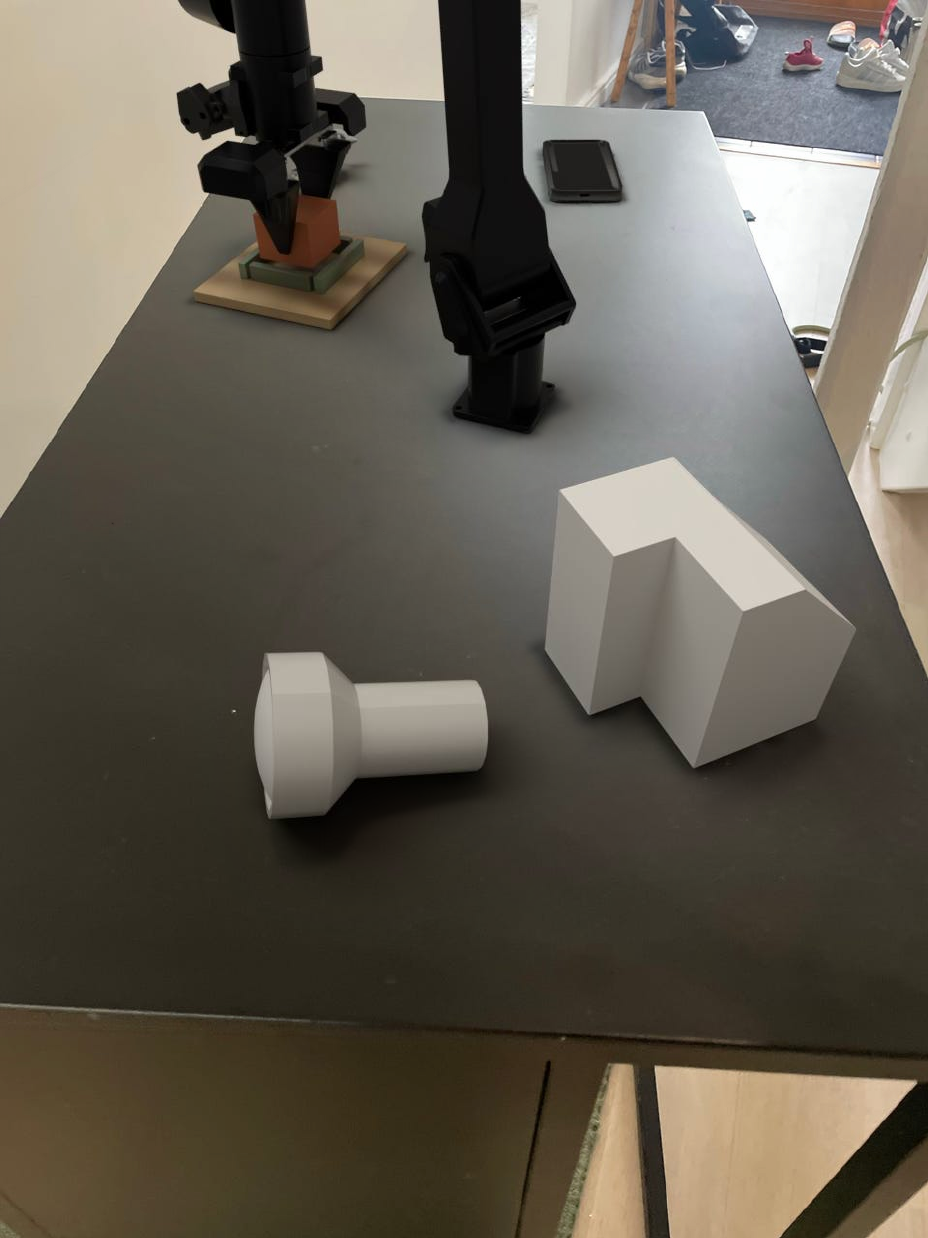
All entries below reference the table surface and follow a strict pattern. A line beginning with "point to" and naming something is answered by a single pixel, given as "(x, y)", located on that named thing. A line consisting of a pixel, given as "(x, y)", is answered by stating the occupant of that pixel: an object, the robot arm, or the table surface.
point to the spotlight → (356, 731)
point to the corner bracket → (685, 613)
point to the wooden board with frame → (303, 282)
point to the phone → (581, 171)
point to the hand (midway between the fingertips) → (300, 240)
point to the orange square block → (305, 233)
